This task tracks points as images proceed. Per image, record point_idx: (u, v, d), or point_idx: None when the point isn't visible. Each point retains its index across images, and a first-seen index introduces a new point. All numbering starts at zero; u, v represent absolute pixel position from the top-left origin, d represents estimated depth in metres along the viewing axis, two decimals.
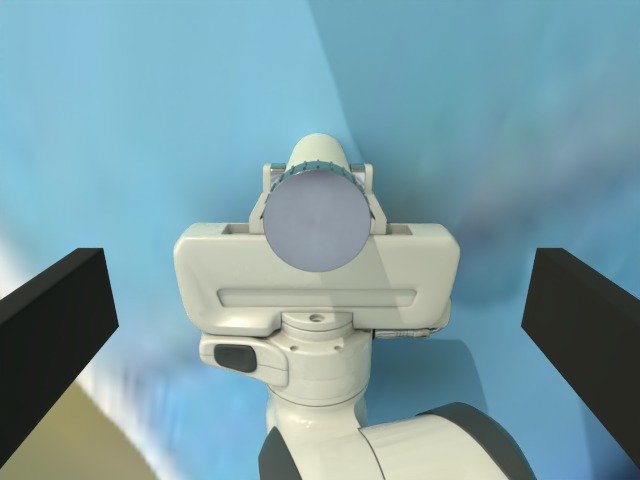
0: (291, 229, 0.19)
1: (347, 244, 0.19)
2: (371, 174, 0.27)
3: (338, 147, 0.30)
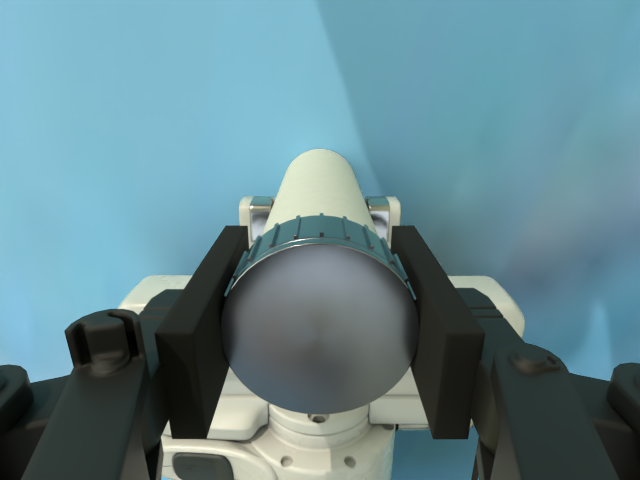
0: (272, 346, 0.10)
1: (375, 371, 0.11)
2: (398, 214, 0.18)
3: (348, 171, 0.21)
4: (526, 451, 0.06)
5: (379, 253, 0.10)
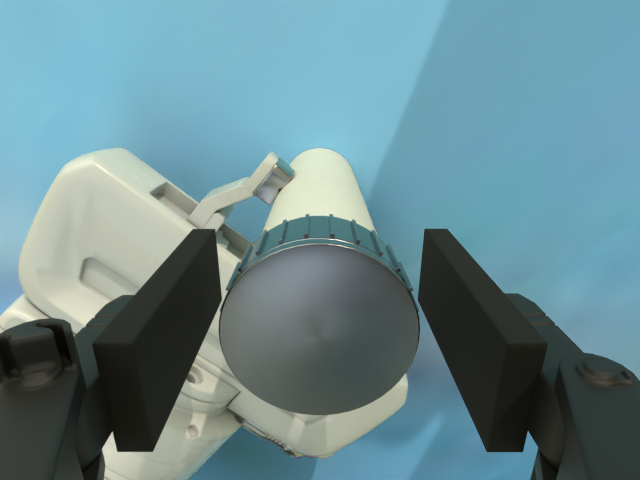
0: (299, 373, 0.11)
1: (388, 321, 0.10)
2: None
3: None
4: (597, 465, 0.05)
5: (290, 239, 0.10)
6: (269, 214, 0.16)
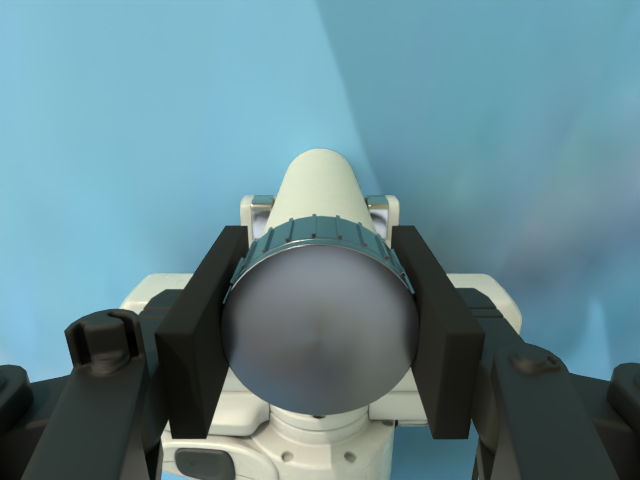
0: (332, 376, 0.11)
1: (362, 285, 0.10)
2: (397, 212, 0.19)
3: (348, 170, 0.22)
4: (526, 451, 0.06)
5: (237, 277, 0.10)
6: None
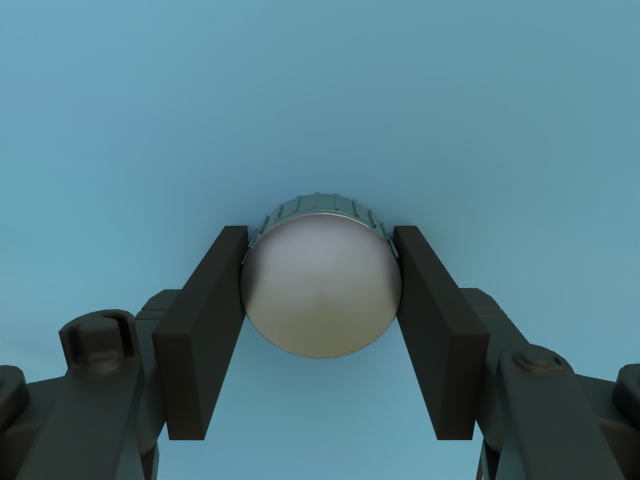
0: (330, 324, 0.13)
1: (355, 247, 0.12)
2: None
3: None
4: (531, 452, 0.06)
5: (254, 241, 0.13)
6: None
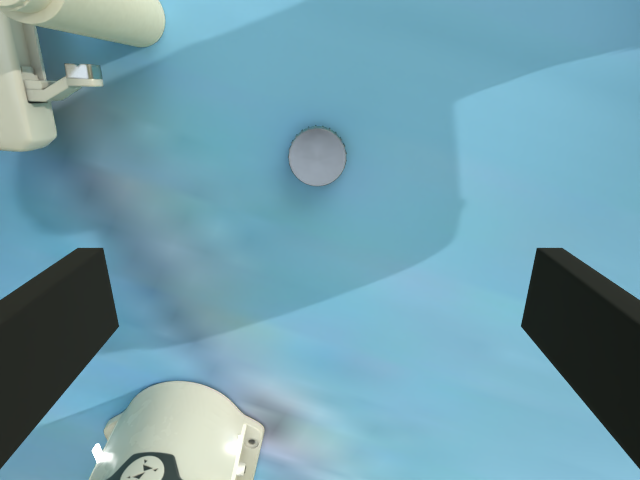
0: (321, 171, 0.36)
1: (329, 141, 0.35)
2: (86, 85, 0.29)
3: (140, 32, 0.31)
4: None
5: (293, 140, 0.36)
6: None
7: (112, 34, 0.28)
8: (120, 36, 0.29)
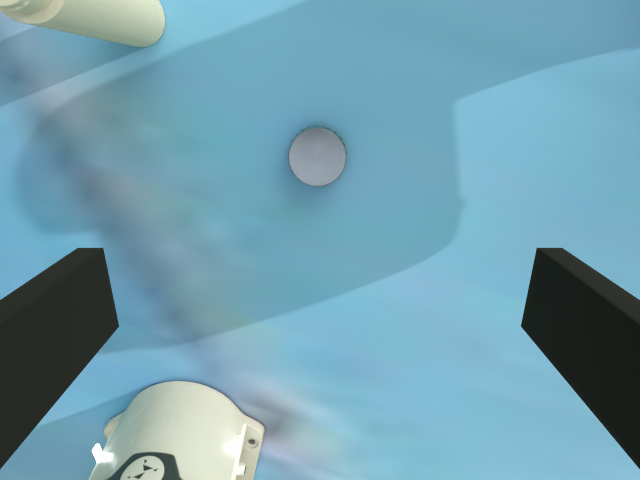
0: (321, 171, 0.36)
1: (329, 141, 0.35)
2: None
3: (140, 32, 0.31)
4: None
5: (293, 140, 0.36)
6: None
7: (112, 34, 0.28)
8: (120, 36, 0.29)
